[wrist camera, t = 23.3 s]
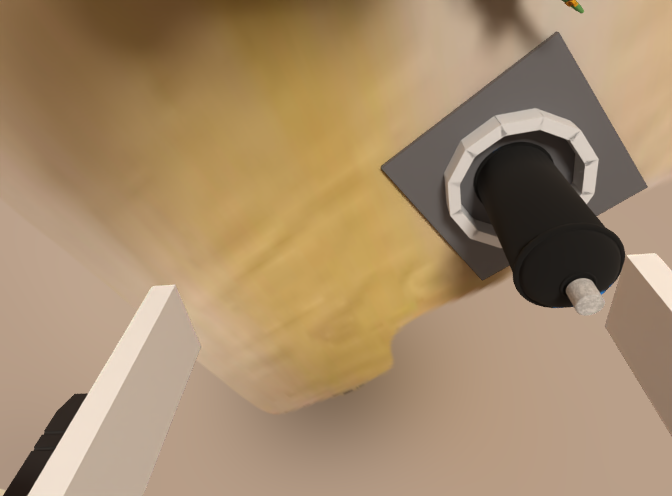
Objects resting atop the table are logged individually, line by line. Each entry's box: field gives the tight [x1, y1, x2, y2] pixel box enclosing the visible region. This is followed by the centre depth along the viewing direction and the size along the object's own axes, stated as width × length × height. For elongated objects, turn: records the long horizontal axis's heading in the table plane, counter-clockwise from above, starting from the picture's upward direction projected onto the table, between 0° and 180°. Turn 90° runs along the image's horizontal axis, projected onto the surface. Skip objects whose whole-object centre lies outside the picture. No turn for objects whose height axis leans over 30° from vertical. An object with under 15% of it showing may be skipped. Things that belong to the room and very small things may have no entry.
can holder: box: [381, 32, 647, 281], centre depth 47 cm, size 20×20×3 cm
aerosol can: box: [474, 142, 625, 315], centre depth 40 cm, size 8×8×20 cm
